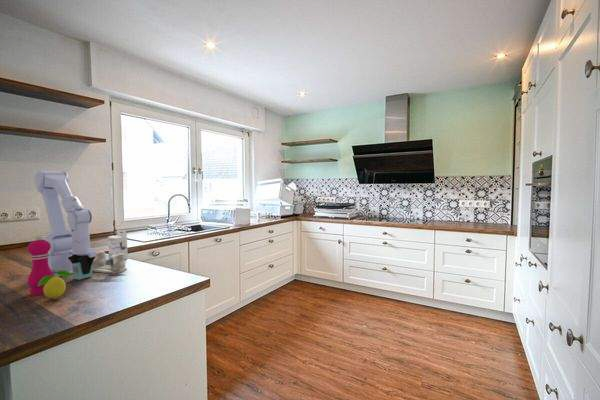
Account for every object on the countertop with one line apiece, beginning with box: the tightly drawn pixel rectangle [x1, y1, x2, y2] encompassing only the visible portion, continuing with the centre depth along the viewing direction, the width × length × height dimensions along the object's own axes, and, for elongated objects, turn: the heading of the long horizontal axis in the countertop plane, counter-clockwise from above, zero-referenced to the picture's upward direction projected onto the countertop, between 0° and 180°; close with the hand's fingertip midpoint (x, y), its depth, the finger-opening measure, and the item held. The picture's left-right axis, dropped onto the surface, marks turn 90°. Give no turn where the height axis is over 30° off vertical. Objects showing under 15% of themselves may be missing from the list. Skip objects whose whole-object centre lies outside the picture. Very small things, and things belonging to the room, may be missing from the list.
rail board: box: [92, 250, 128, 275], centre depth 125 cm, size 6×15×7 cm, turn 68°
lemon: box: [38, 269, 73, 300], centre depth 93 cm, size 7×6×10 cm
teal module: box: [72, 262, 94, 281], centre depth 115 cm, size 5×4×6 cm
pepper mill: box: [26, 235, 55, 296], centre depth 100 cm, size 7×7×20 cm
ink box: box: [107, 229, 129, 260], centre depth 144 cm, size 9×5×15 cm, turn 62°
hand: (82, 273), depth 115 cm, fingers closed on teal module, 4 cm apart
